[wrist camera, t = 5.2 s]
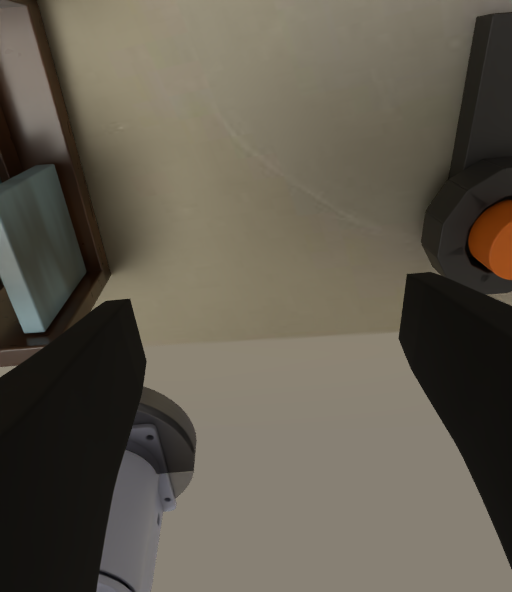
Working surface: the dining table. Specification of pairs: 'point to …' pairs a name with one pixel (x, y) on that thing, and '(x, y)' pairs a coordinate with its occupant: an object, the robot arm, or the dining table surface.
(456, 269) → the button block
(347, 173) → the dining table surface
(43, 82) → the brown wooden rack
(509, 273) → the button
